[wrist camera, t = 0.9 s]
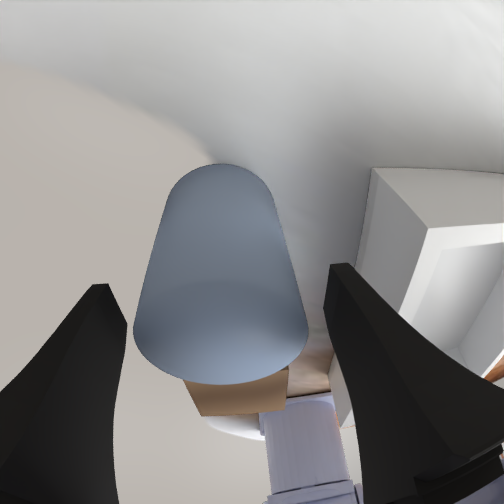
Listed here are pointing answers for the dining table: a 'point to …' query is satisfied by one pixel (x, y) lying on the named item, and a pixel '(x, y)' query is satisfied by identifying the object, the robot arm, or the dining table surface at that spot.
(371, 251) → the tote
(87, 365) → the robot arm
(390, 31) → the dining table surface
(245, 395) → the walnut cube
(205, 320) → the blue cylinder
